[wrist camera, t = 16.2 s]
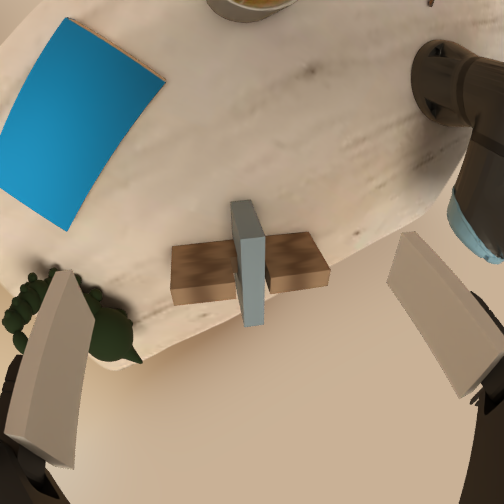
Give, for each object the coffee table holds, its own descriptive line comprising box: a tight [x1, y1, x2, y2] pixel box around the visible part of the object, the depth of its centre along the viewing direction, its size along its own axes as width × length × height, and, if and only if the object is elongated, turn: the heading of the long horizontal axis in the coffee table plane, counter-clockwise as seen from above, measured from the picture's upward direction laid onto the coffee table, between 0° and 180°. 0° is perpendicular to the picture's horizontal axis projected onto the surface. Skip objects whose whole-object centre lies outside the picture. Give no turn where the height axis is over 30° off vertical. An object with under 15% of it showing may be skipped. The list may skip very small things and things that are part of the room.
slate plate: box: [231, 200, 265, 327], centre depth 46 cm, size 16×3×10 cm, turn 1°
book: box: [0, 17, 166, 231], centre depth 32 cm, size 17×4×25 cm
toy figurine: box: [2, 268, 143, 364], centre depth 43 cm, size 9×19×25 cm
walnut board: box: [170, 232, 331, 306], centre depth 46 cm, size 22×3×10 cm, turn 91°
